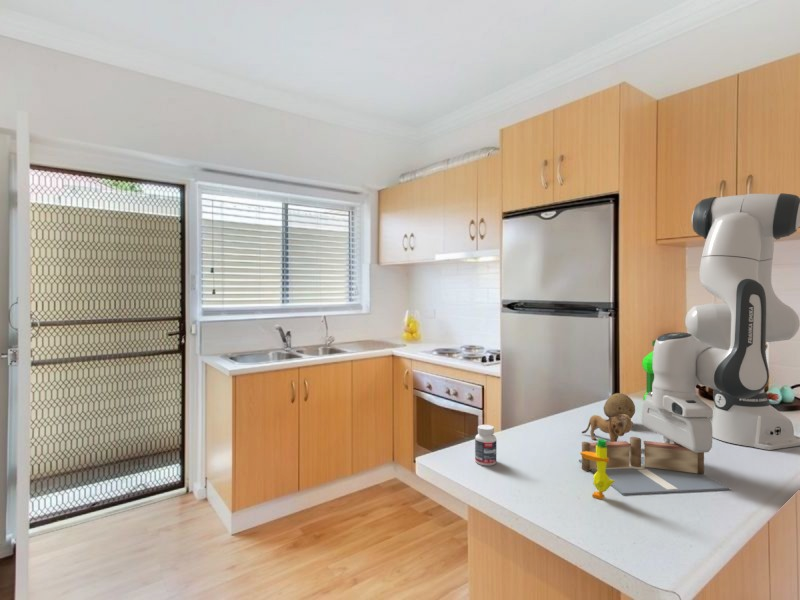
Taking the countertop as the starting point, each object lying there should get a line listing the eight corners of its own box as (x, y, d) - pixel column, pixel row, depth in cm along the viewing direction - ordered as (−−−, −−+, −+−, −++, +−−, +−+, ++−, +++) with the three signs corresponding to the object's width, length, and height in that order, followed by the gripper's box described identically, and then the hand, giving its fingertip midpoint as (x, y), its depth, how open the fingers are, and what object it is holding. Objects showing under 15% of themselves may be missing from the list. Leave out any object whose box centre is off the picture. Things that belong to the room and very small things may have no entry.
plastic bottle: (640, 411, 150) (640, 341, 150) (646, 405, 158) (646, 338, 158) (673, 416, 144) (673, 343, 143) (678, 410, 152) (678, 340, 151)
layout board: (669, 457, 109) (669, 455, 109) (729, 489, 91) (729, 487, 91) (579, 461, 107) (579, 459, 107) (622, 495, 89) (622, 492, 89)
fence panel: (645, 467, 101) (645, 440, 101) (643, 464, 103) (643, 437, 103) (705, 474, 97) (705, 446, 97) (702, 471, 99) (702, 443, 98)
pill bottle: (484, 467, 103) (483, 431, 103) (471, 460, 108) (470, 425, 108) (500, 463, 106) (500, 428, 106) (487, 456, 110) (487, 422, 110)
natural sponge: (637, 430, 130) (637, 397, 130) (605, 427, 133) (605, 395, 133) (632, 421, 139) (632, 391, 138) (602, 419, 142) (602, 389, 142)
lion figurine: (636, 447, 116) (636, 414, 116) (626, 451, 113) (626, 417, 113) (586, 432, 128) (586, 403, 128) (576, 436, 125) (576, 406, 125)
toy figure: (578, 494, 89) (578, 437, 89) (583, 488, 92) (583, 433, 92) (612, 504, 85) (613, 445, 85) (617, 498, 88) (617, 440, 87)
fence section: (637, 465, 104) (637, 436, 104) (643, 469, 102) (643, 440, 102) (579, 467, 103) (579, 438, 103) (584, 471, 100) (584, 442, 100)
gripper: (635, 390, 112) (634, 441, 113) (690, 412, 92) (690, 475, 92) (658, 389, 113) (657, 441, 113) (719, 411, 92) (718, 474, 93)
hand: (672, 456), depth 103 cm, fingers closed
